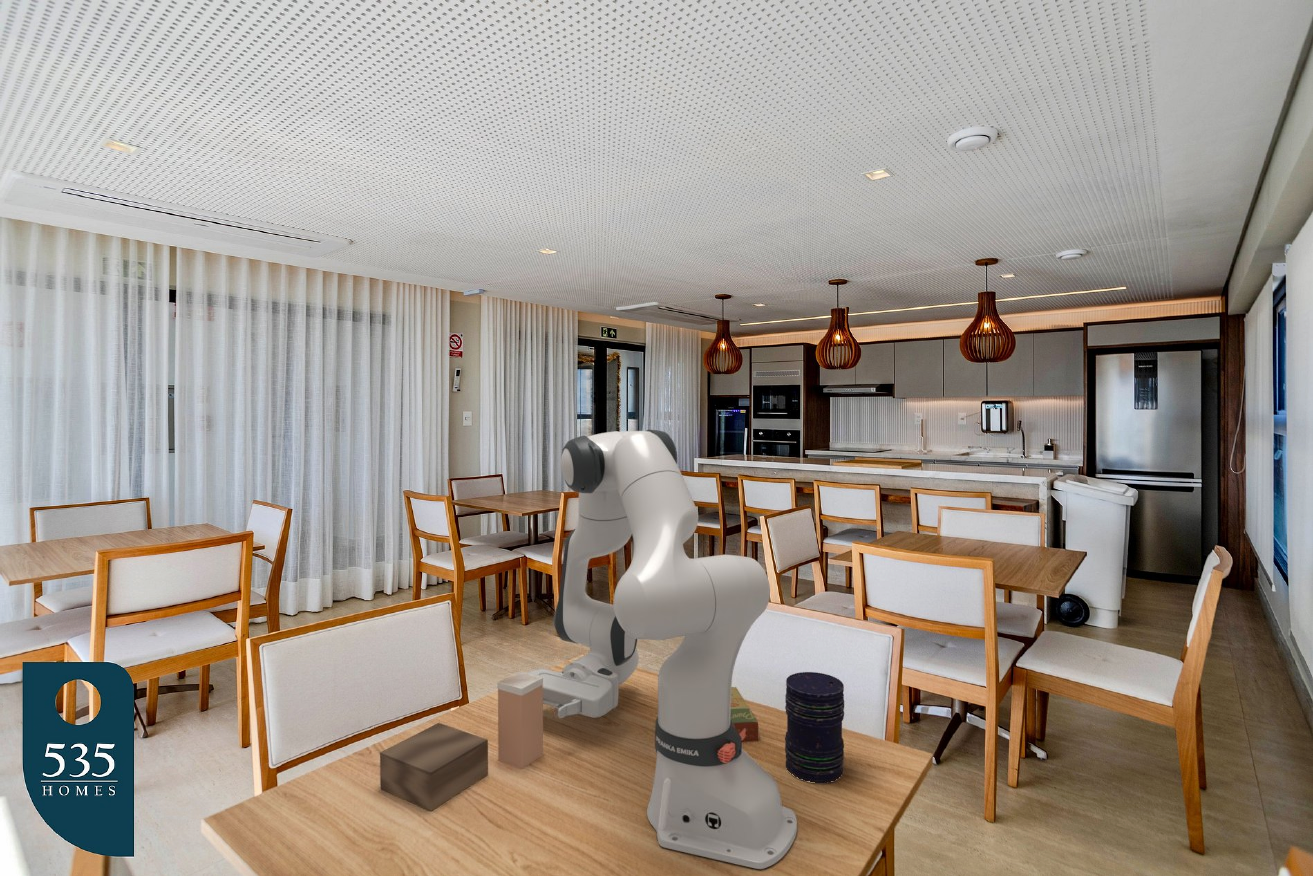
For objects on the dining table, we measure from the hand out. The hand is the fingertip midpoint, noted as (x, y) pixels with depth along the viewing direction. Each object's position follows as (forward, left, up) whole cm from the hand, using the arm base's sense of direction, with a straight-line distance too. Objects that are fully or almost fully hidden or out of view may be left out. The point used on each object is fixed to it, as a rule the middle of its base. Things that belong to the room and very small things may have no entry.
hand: (536, 707), depth 119 cm
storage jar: (-46, -19, -8) cm, 50 cm away
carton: (-26, -27, -8) cm, 38 cm away
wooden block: (+7, +17, -7) cm, 20 cm away
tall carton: (0, +4, -7) cm, 9 cm away
